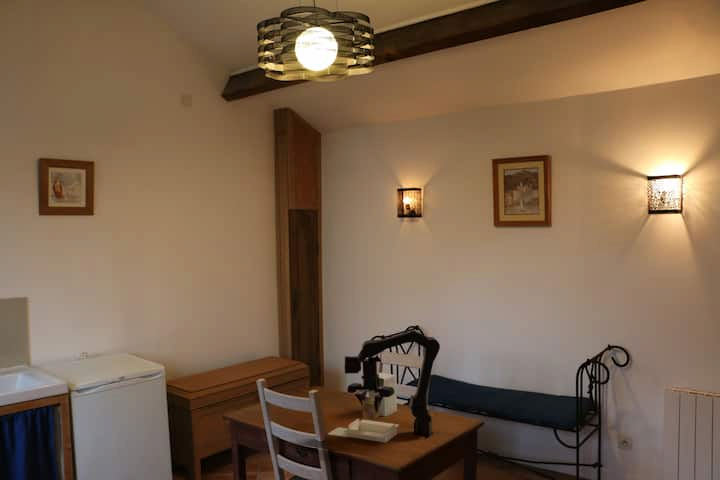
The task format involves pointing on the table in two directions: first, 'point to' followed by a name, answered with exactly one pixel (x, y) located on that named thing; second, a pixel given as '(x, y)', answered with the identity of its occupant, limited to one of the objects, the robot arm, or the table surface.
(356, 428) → the cream tray
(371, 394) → the supplement box
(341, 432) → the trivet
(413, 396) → the robot arm
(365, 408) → the tea box
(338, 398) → the table surface
